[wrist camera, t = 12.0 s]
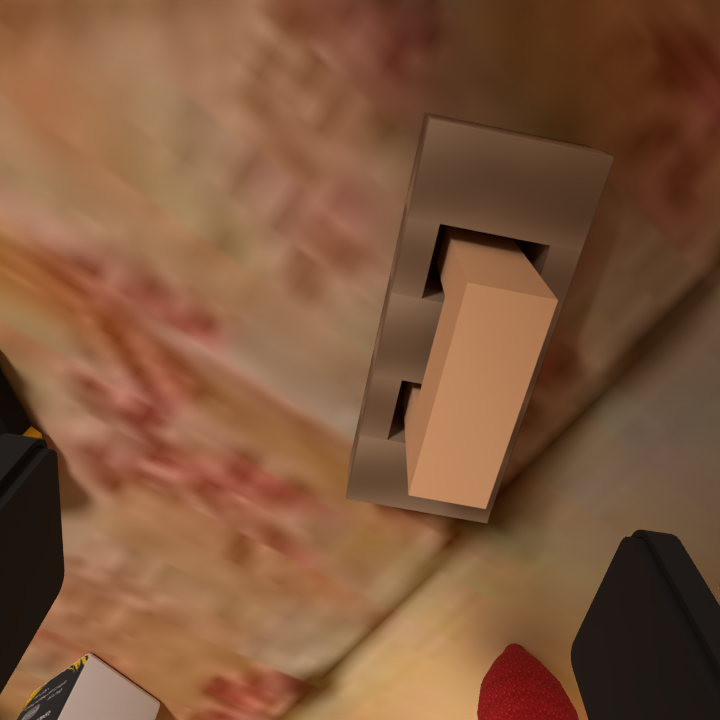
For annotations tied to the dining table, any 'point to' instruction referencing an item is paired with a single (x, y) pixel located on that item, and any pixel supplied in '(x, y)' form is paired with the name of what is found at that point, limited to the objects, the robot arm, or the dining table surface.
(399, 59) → the dining table surface
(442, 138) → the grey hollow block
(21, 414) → the gaming controller
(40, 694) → the medicine bottle
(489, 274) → the peach block
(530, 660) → the strawberry
